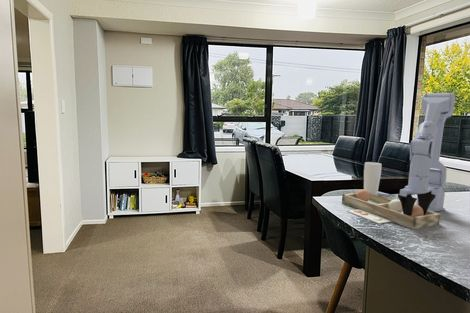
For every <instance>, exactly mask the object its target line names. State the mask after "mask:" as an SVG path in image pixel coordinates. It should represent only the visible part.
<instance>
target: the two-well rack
mask: <svg viewBox="0 0 470 313" xmlns="http://www.w3.org/2000/svg"><path fill="white" fill-rule="evenodd" d="M369 194H370V199H369V200H368V201H367V202H366V201H363V200H360V199H357V192H354V193H353V192H352V193H344V194H342V198H341V204H344V205H346V206H349V207H352V208H355V209H360V210H363V211H366V212H369V213H371V214H374V215H377V216H380V217H382V218H385V219H388V220H391V221H392V223H395V224H398V225H401V226H403V227H406V228H409V229H411V230H417V229H421V228H427V227H432V226H436V225H440V221H441V213H439V212H436V211H435V212H432V211H429V210H427V212H426V214H425V215H423V216H418V217H412V216H409V215H406V214H403V212H401V213H400V212H397V211H394V210H391V209H389V203H390V202H391V201H392V200H393V199H392V198H387V197H385V196H381V195H378V194H377V195H375V194H371V193H369Z"/></svg>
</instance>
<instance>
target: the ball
mask: <svg viewBox="0 0 470 313" xmlns="http://www.w3.org/2000/svg"><path fill="white" fill-rule="evenodd" d="M356 193H357V199H360V200H363V201H366V202H367V201H368V200H369V199H370V194H369V192H368V191H367V190H364V189H359V190H358V191H357V192H356Z"/></svg>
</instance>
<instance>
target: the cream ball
mask: <svg viewBox="0 0 470 313" xmlns="http://www.w3.org/2000/svg"><path fill="white" fill-rule="evenodd" d="M389 209H391V210H394V211H397V212H400V213H401V212H403V209H402V205H401V202H400V200H399V198H398V199H397V198H395V199H392V201H391V202H390V203H389Z"/></svg>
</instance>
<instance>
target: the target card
mask: <svg viewBox="0 0 470 313" xmlns="http://www.w3.org/2000/svg"><path fill="white" fill-rule="evenodd" d="M347 212H348V213H350V214H352V215H355V216H357V217H360V218H363V219H365V220H368V221H369V222H373V223H376V224H378V225H383V224H386V223H391V222H392V221H391V220H388V219H385V218H382V217H380V216H377V215H374V214H371V213H369V212H366V211H363V210H360V209H357V208H355V209H351V210H347ZM392 223H393V222H392Z"/></svg>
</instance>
